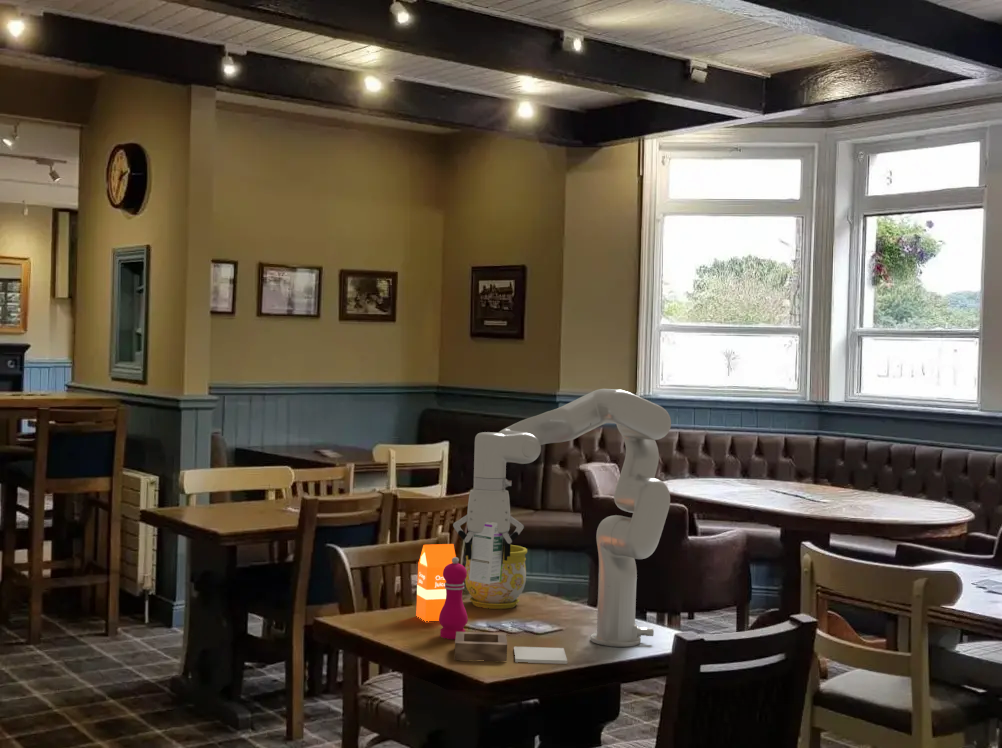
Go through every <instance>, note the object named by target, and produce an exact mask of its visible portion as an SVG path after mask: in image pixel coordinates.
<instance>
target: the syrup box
mask: <svg viewBox="0 0 1002 748" xmlns="http://www.w3.org/2000/svg"><path fill="white" fill-rule="evenodd" d="M471 539H472V541H471V542H472V550H471V562H470V573H469V580H470V581H474V582H478V583H483V584H492V583H498V582H501V578H502V567H503V555H504V543H505V538H504V536H503V535H502V534H499V533H498V527H497V523H496V522H491V521H487V522H486V523H485V526H484V528H483V531H482V532H481V533H474V535H473V536H472V538H471Z"/></svg>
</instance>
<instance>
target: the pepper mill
mask: <svg viewBox="0 0 1002 748" xmlns="http://www.w3.org/2000/svg"><path fill="white" fill-rule="evenodd" d="M459 561H460V559H459V557H457V556H456V557H454V558H453V559H452V563H451V564H448V565H447V566H446V567H445V568H444V570H443V577H444V579H445V580H446V582H445V587H444V588H445V589H446V600H445V603H444V606H443V608H442V610H441V612H440V615H439V622H438V623H439V624H440V626H441V627H442V628H441V629H439V630H440V638H442V637H443V638H442V639H445V638H447V639H446V640H455V639H456V631H457V632H466V629H465V628H464V627H465V626H466V625H467V623H468V618H469V617H468V613H467V610H466V607H465V605H464V602H463V590H464V589H465V579H466V576H467V571H466V568H465V566H464V565H463V564H461V563H459Z"/></svg>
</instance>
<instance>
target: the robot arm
mask: <svg viewBox="0 0 1002 748" xmlns="http://www.w3.org/2000/svg"><path fill="white" fill-rule="evenodd" d="M605 424H616V428H617V430H618V432H619V434H620V435H621V437H622V439H623V441H624V445H625V457H624V461H623V465H622V468H621V472H620V474H619V477H618V480H617V484H616V486H615V491H614V495H613V500H614V503H615V505H616V506H617V508H618V509H620V510H621V511H624V512H628V513H632V516H631V517H630V516H629V517H628V516H623V515H619V514H618V515H617V514H615V515H610V516H606V517H605V518H604V519H602V520H601V521H600V523H599V524H598V526H597V530H596V537H595V539H596V546H597V552H598V584H597V585H598V589H597V592H598V594H597V613H596V614H597V615H596V616H597V617H596V618H597V619H596V620H597V621H596V632H594V633H591V635H590V638H589V639H590V641H591V642H592V643H594V644H597V645H600V646H607V647H614V648H615V647H619V648H620V647H621V648H623V647H625V648H626V647H634V646H638V645H640V644H641V637H642V636H646V637H654V636H655V635H654V634H655V633H654V631H655V630H654V628H650V627H645V626H643V627H641V626H638V625H637V623H636V606H637V605H636V604H637V603H636V602H637V600H636V599H637V579H638V577H637V576H638V574H637V573H638V570H637V564H636V563H637V562H636V560H643V559H647V558H649V557H650V556H652V555H653V553H654V552H655V551H656V549H657V547H658V545H659V542H660V539H661V537H662V533H663V530H664V526H665V524H666V519H667V517H668V513H669V510H670V505H671V493H670V490H669V487H668V486H667V485H666V484H665V482H663V481H662V480H661V479H658V478H655V477H656V474H657V470H658V467H659V459H660V453H659V447H658V444H657V442H656V441H657V440H661V439H663V438H665V437H666V436H667V435H668V434H669V432H670V430H671V426H672V419H671V416H670V414H669V412H668V411H667V409H665V408H664V407H663V406H661V405H659V404H657V403H654V402H652V401H650V400H647V399H645V398H643V397H640V396H639V395H636V394H634V393H632V392H630V391H626V390H623V389H618V388H617V389H613V388H612V389H611V388H600V389H596V390H593V391H590V392H589V393H587V394H584V395H583V396H580V397H578V398H577V399H574V400H572V401H570V402H568V403H566V404H564V405H562V406H559V407H558V408H555V409H552V410H548V411H545V412H543V413H540V414H537V415H534V416H531V417H528V418H525V419H522V420H520V421H518V422H515V423H513V424H511V425H509V426H507V427H505V428H503V429H501V430H500V431H498V432H494V431H493V432H490V431H487V432H486V431H484V432H483V431H482V432H479V433H477V434H476V435H475V437H474V453H473V455H474V456H473V457H474V458H473V459H474V461H473V468H474V469H473V489H470V490H469V495H468V503H467V514H466V515H464V516H463V517H461V518H460V519H458V520H456V521H455V522H453V524H452V526H453V528H454V530H455V532H457V535H458V536H459V537H460V538H461V539H462V540H463V541H464V542H465V544H464V545H465V546H464V547H465V548H464V552H465V553H464V555H465V557H466V556H468V560H470V559H471V545H472V541H471V539H473V535H474V533H481V532H482V531H483V528H484V526H485V523H486V522H487V521H491V522H496V523H497V527H498V533H499V534H502V535H503V536H504V538H505V543H504V560H505V561H507V557H510V546H511V545H512V543H513V542H514V541H515V540H516V539H517V538H518V537H519V535H520V534H521V532H522V531H523V529H525V525H524V524H522V523H521V522H520V521H519V520H517V519H516V518H514V517H513V516H512V515H511V502H510V501H511V500H510V494H509V490H507V489H506V488H508V487H512V484H513V483H512V481H513V480H509V479H507V478H506V477H507V476H506V474H507V470H506V469H507V467H506V466H507V463H515V464H520V465H524V464H525V465H526V464H530V463H533V462H534V461H536V460H537V459H538V458H539V456H540V454H541V452H542V446H543V445H547V444H556V443H563V442H568V441H572V440H575V439H577V438H580V437H581V436H582V435H584V434H586V433H589V432H590V431H593V430H595V429H596V428H598V427H600V426H603V425H605ZM465 523H466V527H467V531H468V532H467V533H466V532H465V531H464V530H463V529H462V528H461V526H462V525H464V524H465ZM511 524H512V525H513V526H515V527H516V528H515V530H514V531H513V532H512V533H511V534H510V533H509V531H510V529H511V528H510V527H511Z"/></svg>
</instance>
